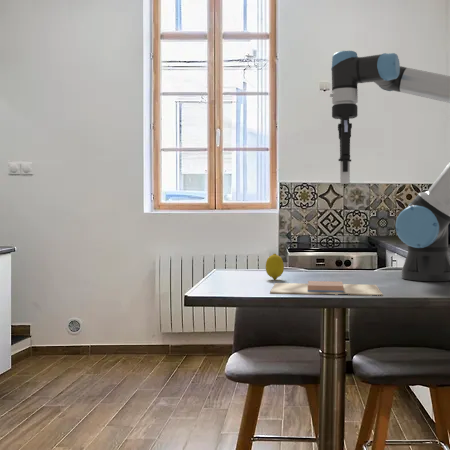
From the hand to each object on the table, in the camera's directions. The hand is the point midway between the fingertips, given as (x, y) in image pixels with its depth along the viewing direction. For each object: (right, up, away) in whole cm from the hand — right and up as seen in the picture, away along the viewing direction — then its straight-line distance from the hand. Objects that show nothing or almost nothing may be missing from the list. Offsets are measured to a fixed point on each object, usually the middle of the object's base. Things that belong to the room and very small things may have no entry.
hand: (345, 183), depth 177 cm
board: (-9, -30, -20) cm, 37 cm away
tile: (-9, -29, -18) cm, 35 cm away
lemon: (-21, -30, +2) cm, 36 cm away
